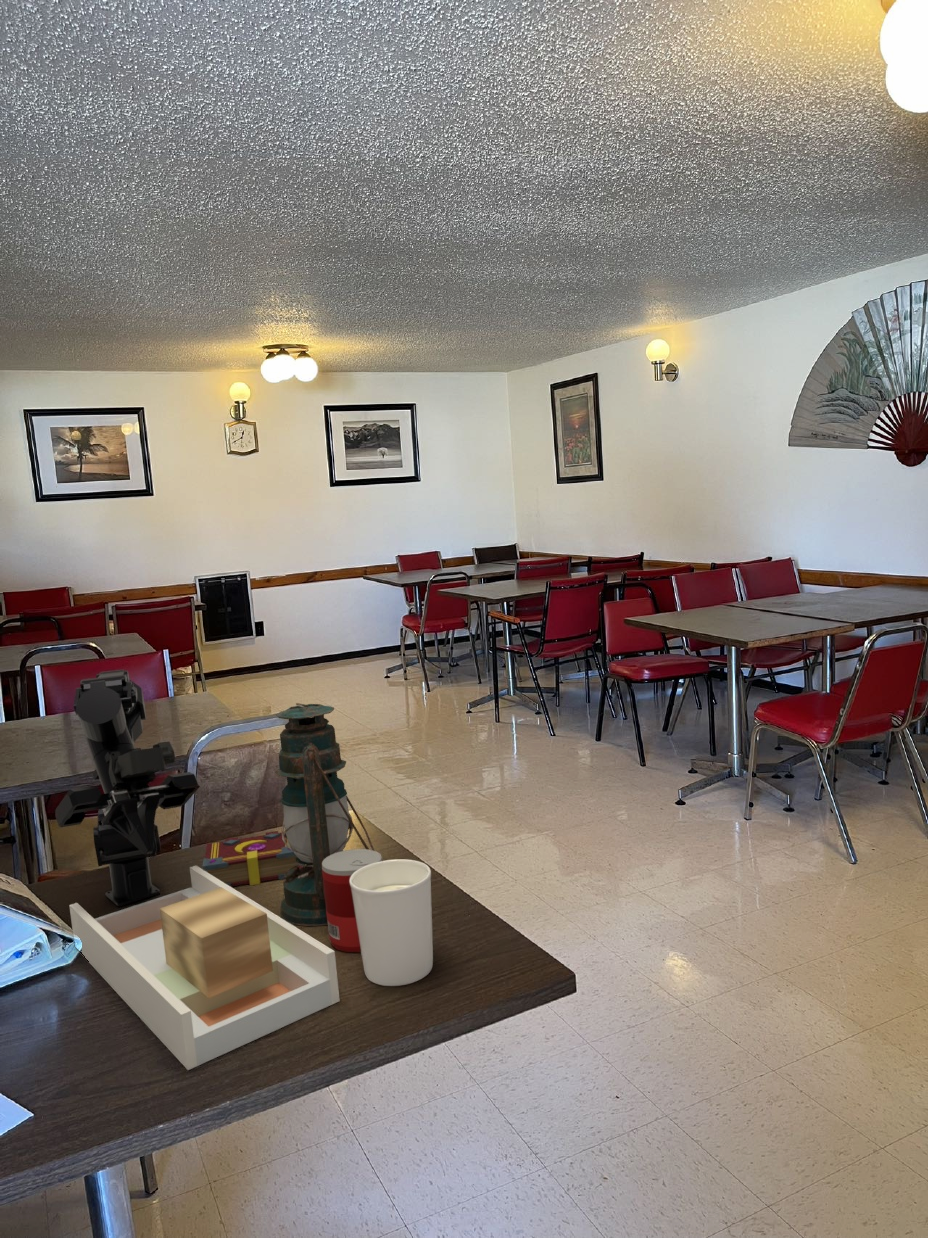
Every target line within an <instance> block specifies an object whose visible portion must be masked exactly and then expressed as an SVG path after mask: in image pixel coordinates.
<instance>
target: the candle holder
mask: <svg viewBox="0 0 928 1238" xmlns="http://www.w3.org/2000/svg"><path fill="white" fill-rule="evenodd" d="M431 870H432V869H431V868H430V866H428V865H427V864H426V863H424V862H422V861H419V860H414V859H403V858H402V859H401V858H399V859H396V858H395V859H387V860H382V861H380V862H376V863H372V864H369V865H367V866H364V867H362V868H360V869H358V870H357V871H355V872H354V873H353V874H352V875H351V877H350V880H349V883H350V886H351V892H352V898H353V904H354V910H355V917H356V923H357V929H358V936H359V942H360V948H361V952H360V953H361V960H362V965H363V970H364V974H365V977H366V978H367V979H368V980H369V981H370V982H371V983H374V984H376V985H379V986H384V987H399V986H405V985H410V984H413V983H416V982H417V981H420V980H422V979H424V978H425V977H427V975H429V973H431V971H432V969H433V965H434V964H433V963H434V952H433V951H434V948H433V919H432V917H433V915H432V913H433V911H432V910H433V909H432V886H431V885H432V884H431V882H432V881H431V880H432V879H431V878H432V871H431Z"/></svg>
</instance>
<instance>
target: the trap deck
mask: <svg viewBox="0 0 928 1238" xmlns="http://www.w3.org/2000/svg"><path fill="white" fill-rule="evenodd" d="M189 874H190V883H191V886H190V887H187V888H185V889H181V890H179V891H175V892H172V893H170V894H167V895H163V896H160V897H157V898H153V899H151V900H147V901H145V902H142V903H139V904H136V905H132V906H129V907H127V908H124V909H123V908H122V909H121V910H117V911H114V912H111V913H108V914H105V915H101V916H99V917H96V918H94V917H93V916H92V915H91V914H89V913H88V912H87V910H86V909H84V908H83V907H82V906H81V905H80V904H79V903H78V902H75V903H74V902H73V903H71V904H69V913H70V920H71V928H72V933H73V932H74V934H75V935H77V936H78V937H79V938H80V940H81V942H82V951H81V952H82V954H83V955H84V956H85V958H86V959H87V960H88V961H89V962H88V961H87V960H86V959H85V958H84V959H85V960H86V961H87V962H88V963H89V964H90V965H91V966H92V967H93V968H94V970H95V971H96V972H97V973H98V974H99V975H100V976H101V977H102V978H103V979H104V980H105V982H106V983H107V984H108V985H109V986H110V987H111V988H112V989H113V990H114V992H116V994H117V995H118V996H119V997H120V999H122V1000H123V1001H124V1003H126V1005H127V1006H128V1007H129V1008H130V1009H131V1010H132V1011H133V1012H134V1013H135V1014H136V1015H137V1016H138V1017H139V1019H140V1020H141V1021H142V1022H143V1023H144V1024H145V1026H146V1027H147V1028H148V1029H149V1030H151V1032H152V1033H153V1035H155V1036H156V1037H157V1038H158V1039H159V1041H161V1043H162V1044H163V1045H164V1046H165V1047H166V1048H167V1049H168V1050H169V1051H170V1052H171V1054H172V1055H173V1056H174V1057H175V1058H176V1059H177V1060H178V1061H179V1062H180V1064H181V1065H183V1067H185V1069H186V1070H187V1071H190V1070H192V1069H194V1068H197V1067H199V1066H200V1065H203V1064H205V1063H207V1062H209V1061H211V1060H214V1059H216V1058H217V1057H218V1058H219V1057H220V1056H223V1055H224V1054H225V1055H226V1054H227V1053H229V1052H231V1051H233V1050H236V1049H237V1048H240V1047H242V1046H244V1045H246V1044H248V1043H251V1042H253V1041H255V1040H258V1039H259V1038H262V1037H264V1036H267V1035H268V1034H270V1033H273V1032H275V1031H278V1030H280V1029H281V1028H283V1027H286V1026H289V1025H291V1024H292V1023H295V1022H297V1021H299V1020H301V1019H304V1018H306V1017H308V1016H310V1015H312V1014H314V1013H317V1012H319V1011H321V1010H324V1009H325V1008H329V1006H332V1005H335V1004H336V1003H338V1002H340V1001H341V1000H340V992H339V981H338V972H337V960H336V951H335V950H333V949H332V948H330V947H329V946H327V945H325V944H324V943H322V942H320V941H319V940H317V939H316V938H314V937H312V936H311V935H309V934H308V933H306V932H304V931H303V930H301V929H300V928H298V927H296V925H294V924H291V923H289V922H287V921H285V920H284V919H283V918H282V917H280V916H279V915H277V914H275V913H273V912H272V911H271V910H269V909H267V908H266V907H265V906H263V905H261V904H259V903H257V902H256V901H254V900H253V899H251V898H250V897H248V896H246V895H245V894H243V893H241V892H240V891H239V890H236V889H235V888H233V886H231V887H230V886H228V885H227V884H225V883H224V882H222V881H220V880H219V879H217V878H216V877H214V876H212V875H211V874H209V873H207V870H205V871H204V870H203V868H201V867H200V866H198V865H193V866H189ZM221 887H222V888H223V889H225V890H227V891H229V892H230V893H232V894H234V895H236V896H237V897H239V898H241V899H242V900H244V901H246V902H248V903H249V904H251V905H253V906H254V907H256V908H258V909H260V910H261V911H263V912H265V913H266V914H267V921H268V930H269V939H270V948H271V957H272V966H273V971H272V972H269V973H267V974H264V975H262V976H260V977H257V978H255V979H253V980H250V981H248V982H246V983H243V984H241V985H239V986H236V987H234V988H231V989H229V990H227V991H224V992H222V993H220V994H217V995H215V996H213V997H210V998H208V997H207V996H205V995H204V994H203V993H202V992H201V991H199V990H198V989H197V988H196V987H194V986H193V985H192V984H191V983H189V982H188V981H187V980H186V979H185V978H183V977H182V976H181V975H180V974H178V973H177V972H176V971H175V970H174V969H172V968H171V967H170V966H169V965H167V964H166V956H165V948H164V940H163V932H162V924H161V915H160V908H163V907H166V906H168V905H171V904H174V903H177V902H180V901H183V900H186V899H189V898H192V897H195V896H198V895H200V894H203V893H206V892H209V891H212V890H215V889H218V888H221ZM82 954H81V955H82ZM83 955H82V956H83ZM84 956H83V957H84Z"/></svg>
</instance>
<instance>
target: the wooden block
mask: <svg viewBox="0 0 928 1238" xmlns="http://www.w3.org/2000/svg"><path fill="white" fill-rule="evenodd" d="M160 915H161V924H162V932H163V940H164V948H165V956H166V964H167V965H169V966H170V967H171V968H172V969H174V970H175V971H176V972H177V973H178V974H180V975H181V976H182V977H183V978H185V979H186V980H187V981H188V982H189V983H191V984H192V985H193V986H194V987H196V988H197V989H198V990H199V991H201V992H202V993H203V994H204V995H205V996H207V997H208V998H210V997H213V996H215V995H217V994H220V993H222V992H224V991H227V990H229V989H231V988H234V987H236V986H239V985H241V984H243V983H246V982H248V981H250V980H253V979H255V978H257V977H260V976H262V975H264V974H267V973H269V972H272V971H273V966H272V957H271V948H270V939H269V930H268V921H267V914H266V913H265V912H263V911H261V910H260V909H258V908H256V907H254V906H253V905H251V904H249V903H248V902H246V901H244V900H242V899H241V898H239V897H237V896H236V895H234V894H232V893H230V892H229V891H227V890H225V889H223V888H222V887H221V888H218V889H215V890H212V891H209V892H206V893H203V894H200V895H198V896H195V897H192V898H189V899H186V900H183V901H180V902H177V903H174V904H171V905H168V906H166V907H163V908H160Z"/></svg>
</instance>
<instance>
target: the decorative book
mask: <svg viewBox="0 0 928 1238" xmlns="http://www.w3.org/2000/svg"><path fill="white" fill-rule="evenodd" d="M283 835H284V833H283ZM285 840H286V842H287V844H288V840H287V839H286V838H285ZM288 845H289V844H288ZM289 846H290V845H289ZM205 848H206V849H205V856H204V858H203V861H202V865H201V866H202V869H203V870H204V871H206V872H207V873H209V874H211V875H212V876H214V877H216V878H217V879H219V880H220V881H222V882H224V883H225V884H227V885H228V886H230V887H236V886H242V885H248V884H249V886H254V885H260V884H261V882H266V881H267V882H268V881H272V880H279V881H280V880H285V878H284V874H285V873H286V872H287V871H288V870H289V869H291V868H292V867H294V866H298V867H299V869H300V868H302V867H303V866H300V865H298V864H297V863H296V861H295V858H296V857H297V856H296V855H295V854H294V852H293V851H292V850H290V849H289V848H288V847H287V846H286V845H285V843H284V841H283V840H282V832H279V830H275V831H267V832H265V834H263V835H256V836H250V837H243V838H239V836H237V837H228V838H225V839H224V841H219V842H218V841H217V842H213V843H212V842H211V843H206V847H205ZM297 862H298V863H300V862H299V861H297ZM300 864H301V863H300ZM303 865H306V864H303Z"/></svg>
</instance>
